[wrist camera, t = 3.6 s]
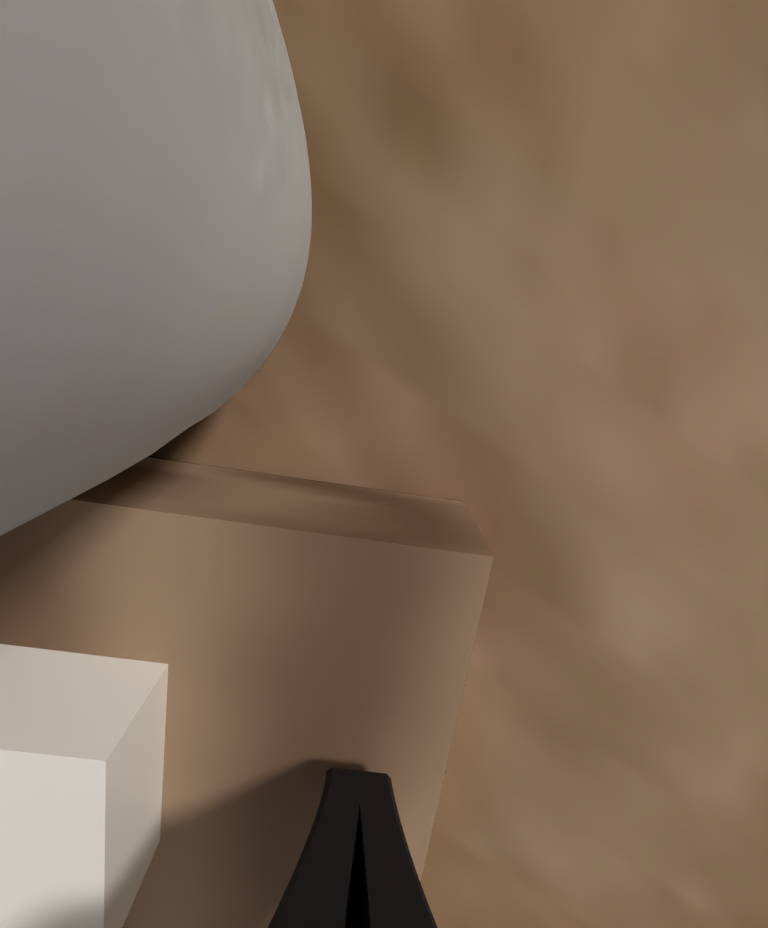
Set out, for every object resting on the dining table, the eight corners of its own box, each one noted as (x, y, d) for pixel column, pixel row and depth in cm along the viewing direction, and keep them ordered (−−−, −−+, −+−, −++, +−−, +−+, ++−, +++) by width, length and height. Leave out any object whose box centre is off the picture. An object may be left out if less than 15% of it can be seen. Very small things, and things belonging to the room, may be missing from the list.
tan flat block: (-231, 757, 15) (-405, 877, 12) (-303, 393, 12) (-558, 413, 9) (398, 824, 16) (404, 953, 13) (464, 501, 13) (493, 557, 10)
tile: (-53, 818, 12) (-168, 947, 9) (-70, 635, 10) (-209, 726, 8) (160, 840, 12) (103, 970, 9) (168, 663, 11) (106, 761, 8)
